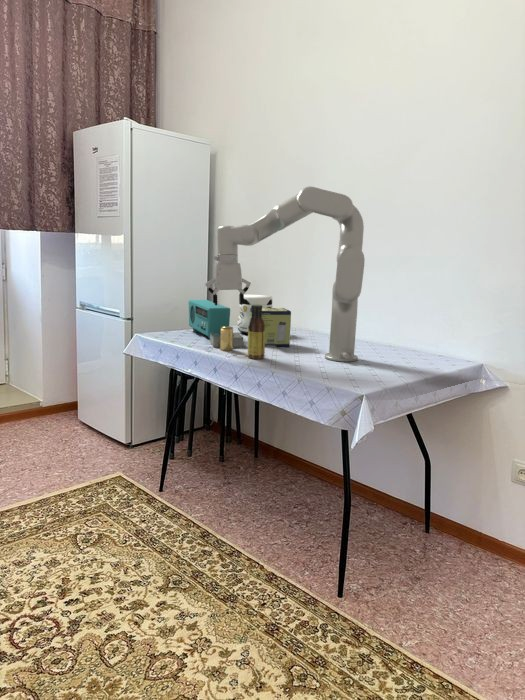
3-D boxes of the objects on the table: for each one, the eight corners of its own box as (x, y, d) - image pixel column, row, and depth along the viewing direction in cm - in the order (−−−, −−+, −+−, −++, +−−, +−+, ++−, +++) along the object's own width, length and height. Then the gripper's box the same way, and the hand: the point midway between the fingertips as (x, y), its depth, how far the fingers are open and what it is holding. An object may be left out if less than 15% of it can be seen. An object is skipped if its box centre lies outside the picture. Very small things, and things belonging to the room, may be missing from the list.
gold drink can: (233, 353, 206) (234, 328, 204) (220, 353, 205) (221, 327, 203) (231, 351, 211) (232, 326, 209) (219, 351, 210) (220, 326, 208)
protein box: (248, 343, 230) (249, 307, 227) (283, 343, 234) (284, 307, 231) (254, 348, 220) (255, 310, 217) (290, 347, 224) (292, 310, 221)
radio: (186, 330, 257) (186, 299, 255) (207, 330, 261) (207, 299, 259) (206, 343, 227) (207, 308, 224) (229, 342, 231) (230, 307, 228)
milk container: (229, 332, 257) (230, 295, 254) (256, 329, 269) (257, 293, 265) (253, 337, 245) (254, 298, 241) (280, 334, 256) (282, 297, 253)
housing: (243, 349, 215) (243, 337, 214) (213, 349, 212) (213, 337, 211) (238, 344, 226) (238, 332, 225) (209, 344, 224) (210, 332, 223)
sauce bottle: (256, 355, 204) (258, 303, 200) (267, 358, 200) (270, 305, 196) (243, 357, 200) (245, 304, 196) (255, 360, 195) (257, 306, 191)
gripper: (205, 259, 196) (206, 306, 199) (252, 259, 199) (252, 305, 203) (203, 259, 203) (204, 304, 206) (248, 259, 207) (248, 303, 210)
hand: (228, 304), depth 204 cm, fingers open, 9 cm apart
